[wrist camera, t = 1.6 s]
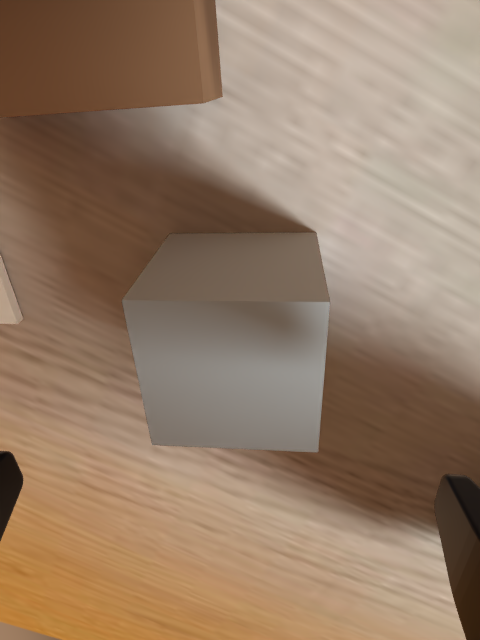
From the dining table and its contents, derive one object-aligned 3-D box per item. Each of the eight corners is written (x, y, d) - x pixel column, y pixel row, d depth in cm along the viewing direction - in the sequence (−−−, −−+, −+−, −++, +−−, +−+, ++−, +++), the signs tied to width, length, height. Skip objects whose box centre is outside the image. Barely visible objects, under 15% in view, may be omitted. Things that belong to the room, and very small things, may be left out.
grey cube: (309, 353, 16) (317, 452, 12) (186, 351, 17) (151, 445, 13) (316, 231, 14) (330, 302, 10) (170, 232, 14) (121, 299, 10)
